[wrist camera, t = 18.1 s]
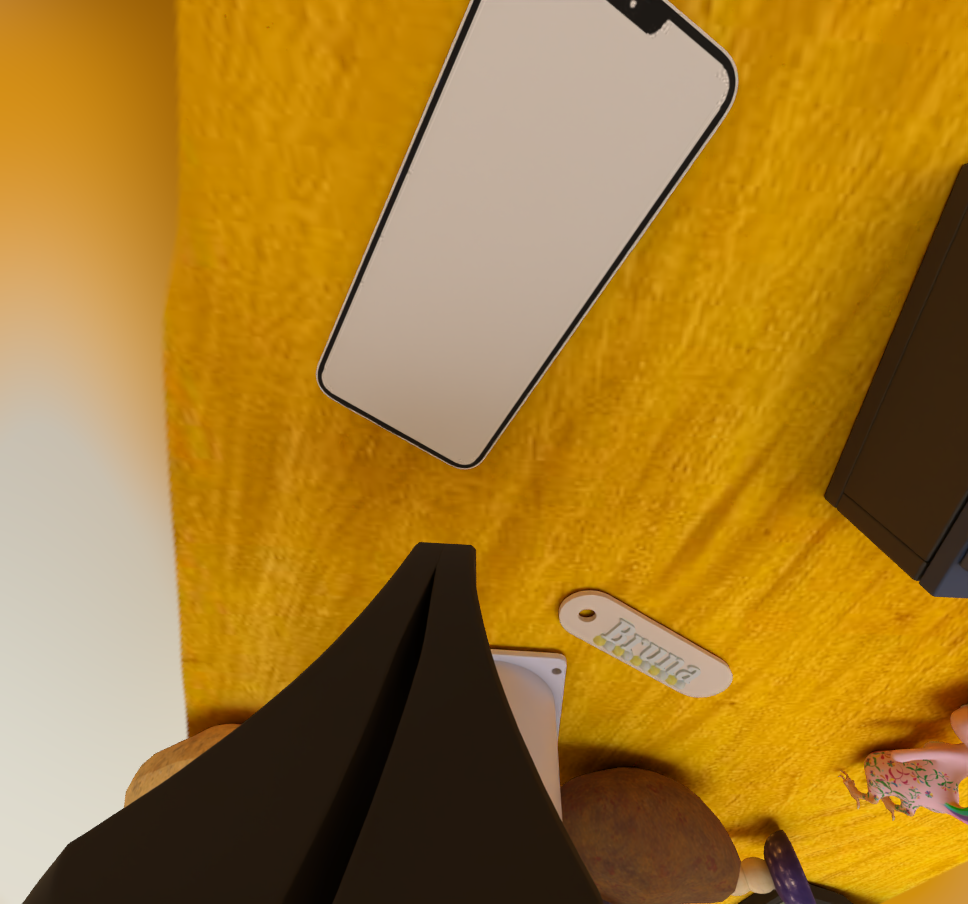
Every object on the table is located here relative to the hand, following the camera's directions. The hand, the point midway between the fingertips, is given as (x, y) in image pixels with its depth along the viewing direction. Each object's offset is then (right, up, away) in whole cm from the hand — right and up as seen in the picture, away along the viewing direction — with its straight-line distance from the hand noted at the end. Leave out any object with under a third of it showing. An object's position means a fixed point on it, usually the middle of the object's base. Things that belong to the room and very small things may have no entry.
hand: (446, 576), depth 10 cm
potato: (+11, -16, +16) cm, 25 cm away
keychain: (+9, -7, +12) cm, 17 cm away
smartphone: (+1, +10, +5) cm, 11 cm away
